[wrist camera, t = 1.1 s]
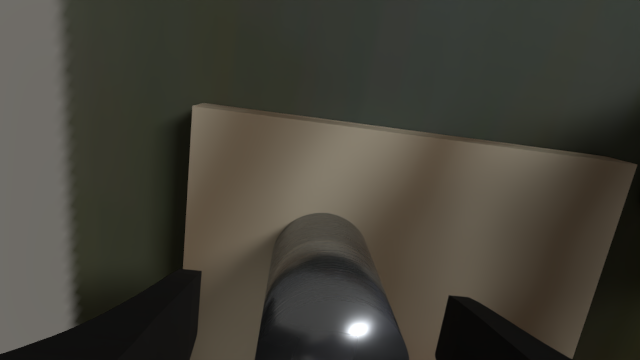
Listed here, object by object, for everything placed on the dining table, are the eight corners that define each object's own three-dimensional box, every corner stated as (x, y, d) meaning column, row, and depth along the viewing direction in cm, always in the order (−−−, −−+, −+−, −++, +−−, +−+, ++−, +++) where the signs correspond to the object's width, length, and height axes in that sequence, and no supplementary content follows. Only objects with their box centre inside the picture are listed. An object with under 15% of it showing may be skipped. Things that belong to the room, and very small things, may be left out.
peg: (375, 218, 15) (423, 310, 9) (359, 305, 16) (394, 441, 10) (277, 207, 14) (261, 294, 9) (267, 296, 15) (246, 430, 10)
